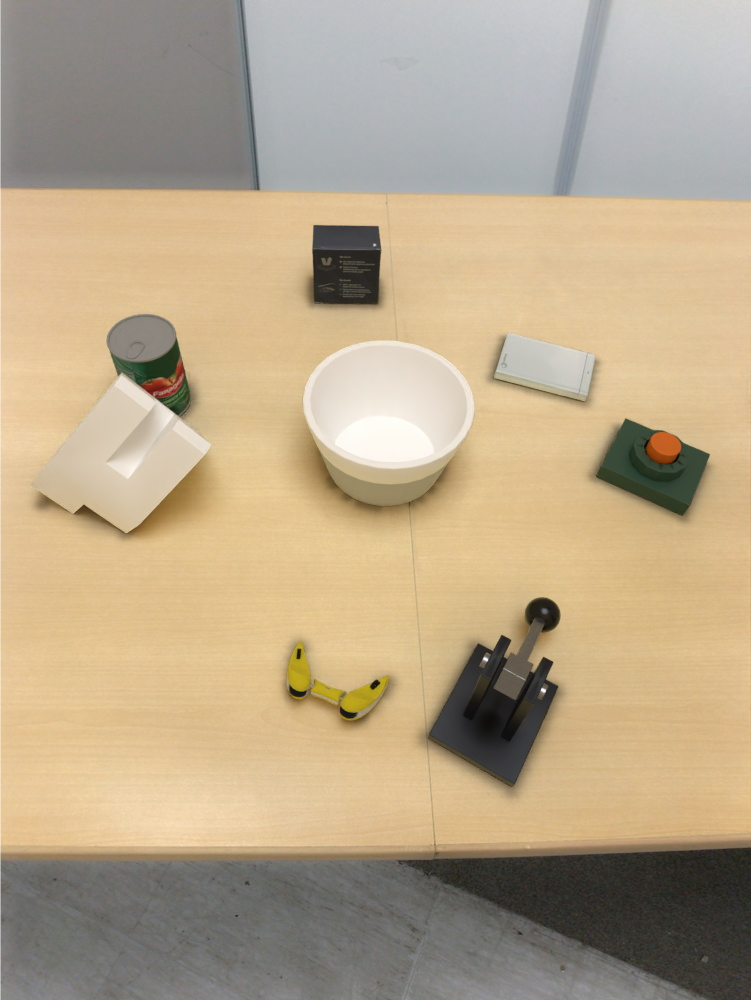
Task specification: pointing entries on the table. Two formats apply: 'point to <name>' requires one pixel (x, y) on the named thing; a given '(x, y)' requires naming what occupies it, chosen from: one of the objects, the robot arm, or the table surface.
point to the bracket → (494, 714)
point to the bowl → (387, 418)
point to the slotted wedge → (122, 457)
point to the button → (663, 448)
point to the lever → (527, 645)
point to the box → (346, 263)
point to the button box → (653, 469)
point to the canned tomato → (151, 358)
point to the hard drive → (545, 366)
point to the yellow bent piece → (332, 689)
